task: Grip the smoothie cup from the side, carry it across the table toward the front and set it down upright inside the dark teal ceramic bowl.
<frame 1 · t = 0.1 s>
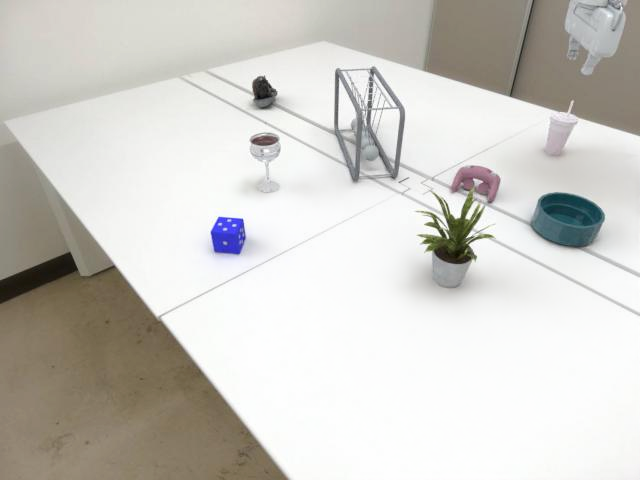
hand: (578, 66, 96), 25 cm above the table, tool pointing down, fingers open, 8 cm apart
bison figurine: (266, 104, 144), on the table
house plant: (444, 273, 83), on the table
video game controller: (473, 193, 104), on the table
die: (230, 246, 89), on the table
wineglass: (268, 187, 106), on the table
newton's cradle: (362, 153, 119), on the table
bowl: (562, 229, 93), on the table
smoothie: (552, 152, 119), on the table
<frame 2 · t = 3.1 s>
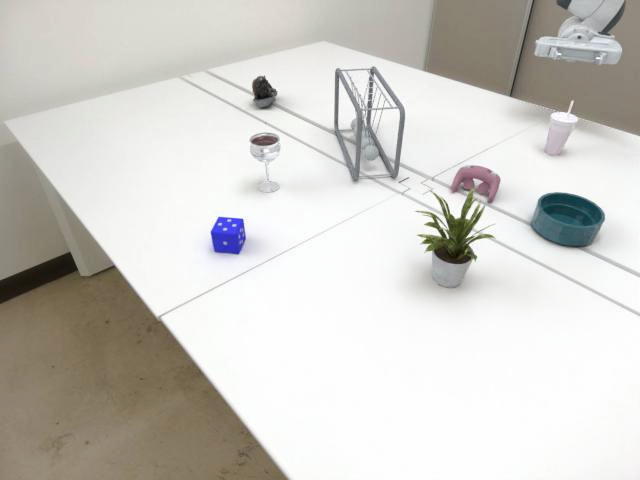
hand: (577, 59, 115), 20 cm above the table, tool horizontal, fingers open, 8 cm apart
nothing on the table moved.
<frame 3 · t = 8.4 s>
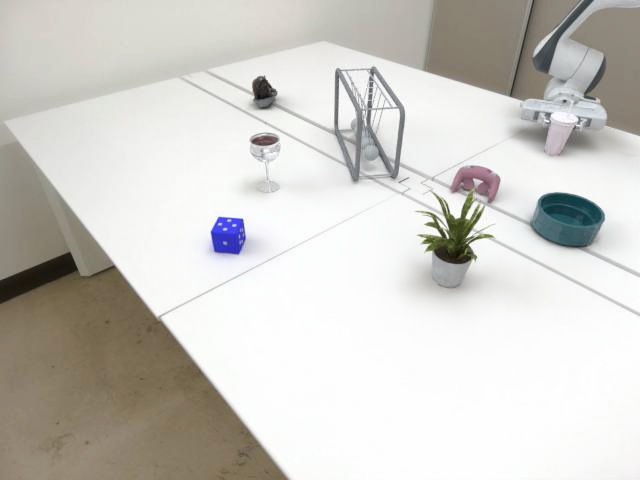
hand: (561, 126, 113), 8 cm above the table, tool horizontal, fingers closed on smoothie, 6 cm apart
smoothie: (551, 152, 119), on the table, touching gripper
everything else where it was.
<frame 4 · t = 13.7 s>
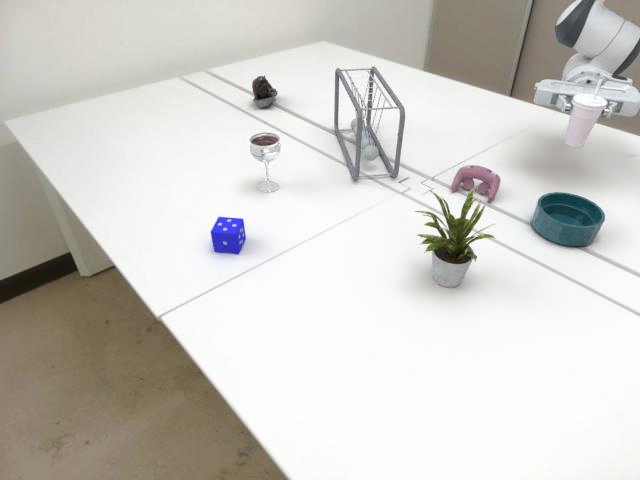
hand: (586, 111, 93), 19 cm above the table, tool horizontal, fingers closed on smoothie, 6 cm apart
smoothie: (573, 144, 98), point 11 cm above the table, touching gripper
everything else where it was.
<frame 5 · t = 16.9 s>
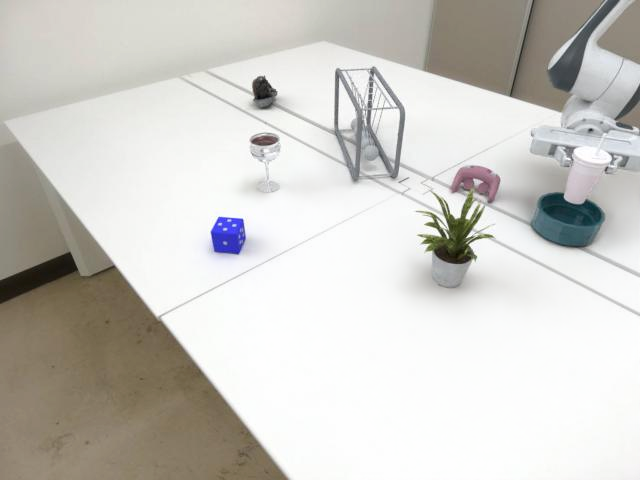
hand: (588, 167, 83), 15 cm above the table, tool horizontal, fingers closed on smoothie, 6 cm apart
smoothie: (573, 199, 89), point 7 cm above the table, touching gripper
everything else where it was.
when the fingers open (8 cm above the table, at t = 19.3 s): smoothie stays where it is, resting on bowl.
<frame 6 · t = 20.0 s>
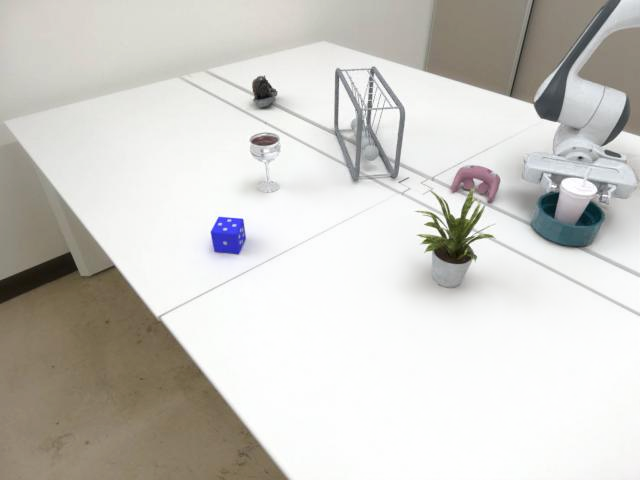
hand: (578, 195, 87), 9 cm above the table, tool horizontal, fingers open, 8 cm apart
smoothie: (562, 227, 93), resting on bowl
everything else where it was.
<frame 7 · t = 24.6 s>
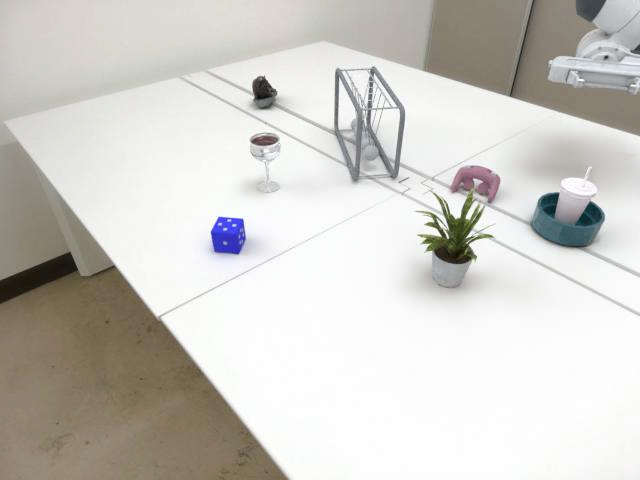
hand: (606, 87, 88), 25 cm above the table, tool horizontal, fingers open, 8 cm apart
nothing on the table moved.
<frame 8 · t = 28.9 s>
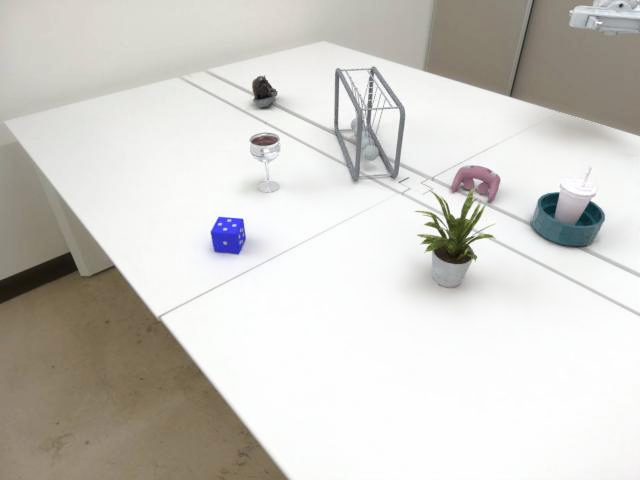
hand: (621, 28, 100), 30 cm above the table, tool horizontal, fingers open, 8 cm apart
nothing on the table moved.
at the end: smoothie 0.1 cm off-centre in the bowl, point 0.4 cm above the bowl's base; smoothie tilted 0°; the gripper is holding nothing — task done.
